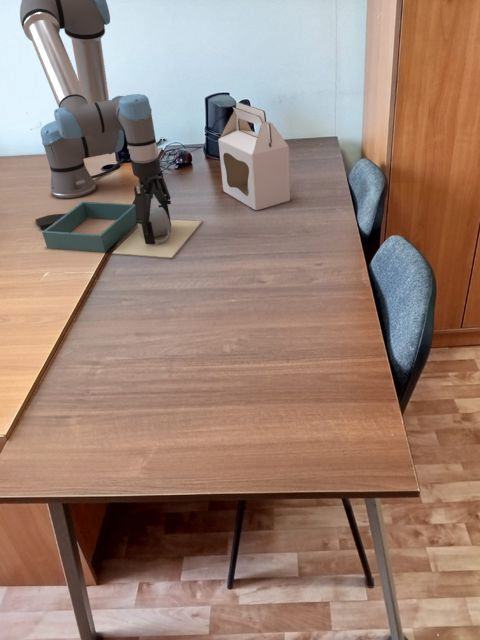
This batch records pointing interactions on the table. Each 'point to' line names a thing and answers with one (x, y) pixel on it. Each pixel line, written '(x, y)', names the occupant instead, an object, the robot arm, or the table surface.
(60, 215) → the dark sector wedge
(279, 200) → the gable box
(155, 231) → the ceramic mug
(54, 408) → the table surface
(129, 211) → the teal rectangular frame
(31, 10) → the robot arm
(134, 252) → the mat
